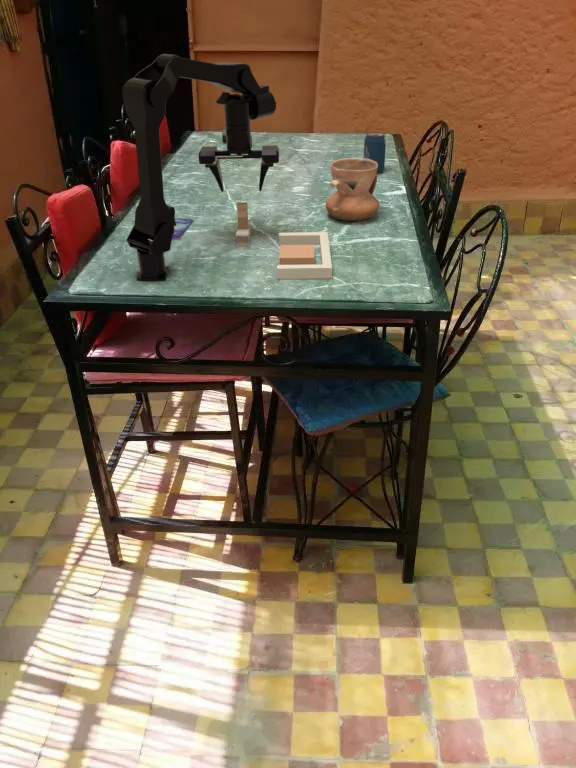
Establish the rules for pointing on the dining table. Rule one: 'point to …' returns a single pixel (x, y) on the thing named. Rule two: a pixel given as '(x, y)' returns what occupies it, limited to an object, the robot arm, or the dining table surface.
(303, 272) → the beige u-shaped frame
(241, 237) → the beige t-shaped block
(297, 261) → the tile
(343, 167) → the ceramic jug
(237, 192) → the dining table surface
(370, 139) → the soda can
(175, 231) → the smartphone
